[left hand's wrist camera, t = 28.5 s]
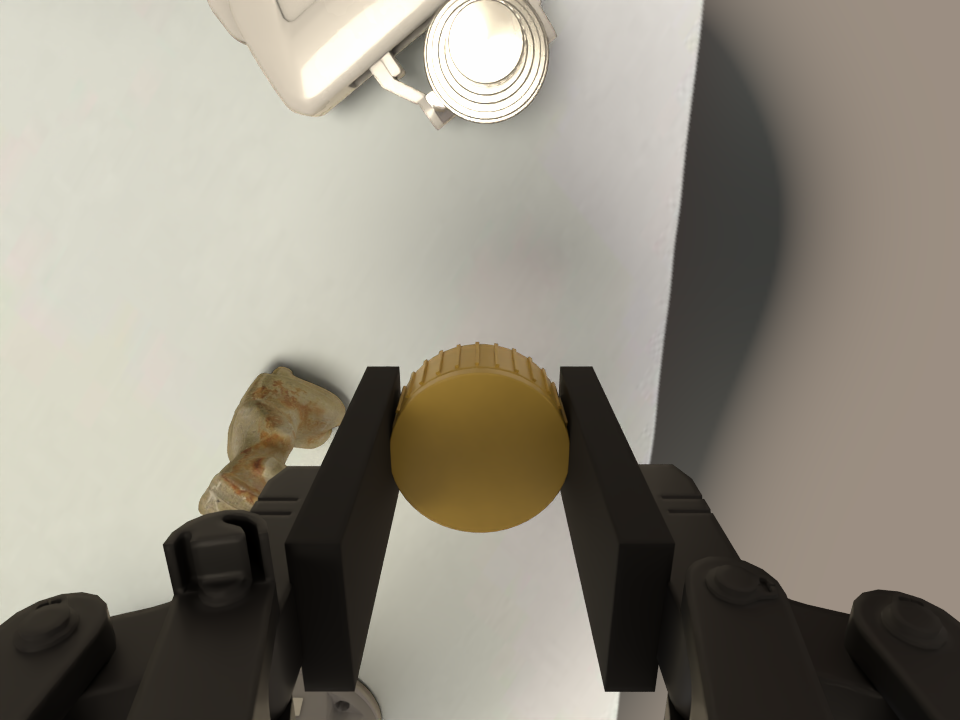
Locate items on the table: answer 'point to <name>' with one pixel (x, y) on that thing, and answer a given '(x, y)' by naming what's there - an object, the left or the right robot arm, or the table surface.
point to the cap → (479, 439)
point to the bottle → (486, 57)
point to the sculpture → (270, 436)
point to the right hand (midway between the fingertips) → (496, 84)
